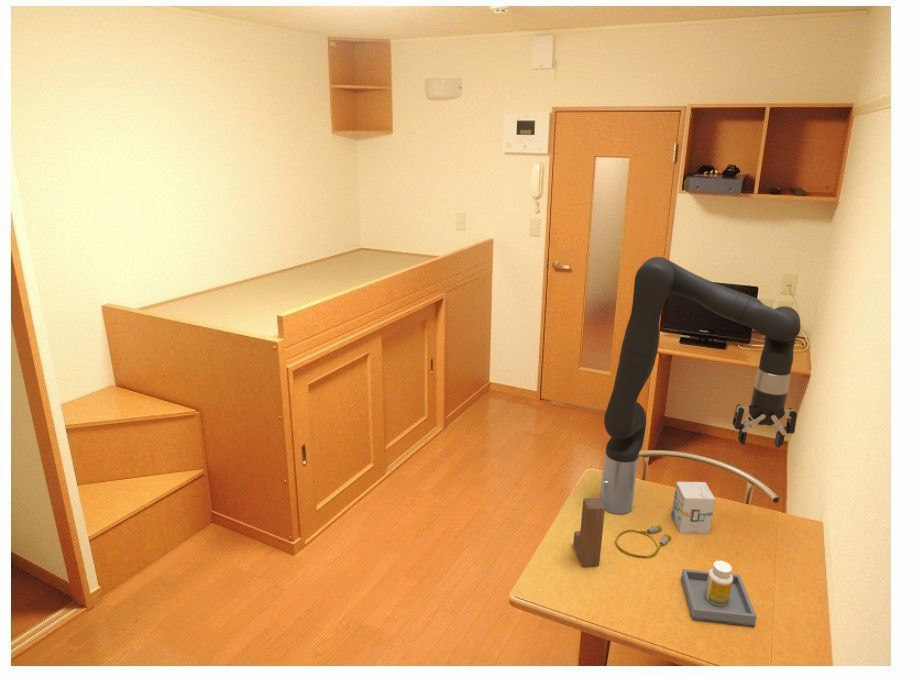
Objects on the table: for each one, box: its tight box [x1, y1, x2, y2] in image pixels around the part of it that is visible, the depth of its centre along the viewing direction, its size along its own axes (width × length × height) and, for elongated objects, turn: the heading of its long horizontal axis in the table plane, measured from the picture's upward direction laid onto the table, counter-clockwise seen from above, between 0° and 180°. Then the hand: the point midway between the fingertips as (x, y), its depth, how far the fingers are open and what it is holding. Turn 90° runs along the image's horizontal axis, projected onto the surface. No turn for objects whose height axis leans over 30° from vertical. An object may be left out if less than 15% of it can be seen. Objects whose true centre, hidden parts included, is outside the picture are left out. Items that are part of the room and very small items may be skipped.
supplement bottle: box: [705, 560, 733, 606], centre depth 145 cm, size 5×5×10 cm
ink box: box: [671, 480, 716, 535], centre depth 173 cm, size 9×8×12 cm
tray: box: [680, 568, 758, 628], centre depth 146 cm, size 14×14×3 cm
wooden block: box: [573, 497, 606, 568], centre depth 159 cm, size 9×4×18 cm, turn 6°
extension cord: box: [615, 524, 672, 559], centre depth 166 cm, size 12×16×2 cm
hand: (759, 444), depth 157 cm, fingers open, 8 cm apart
